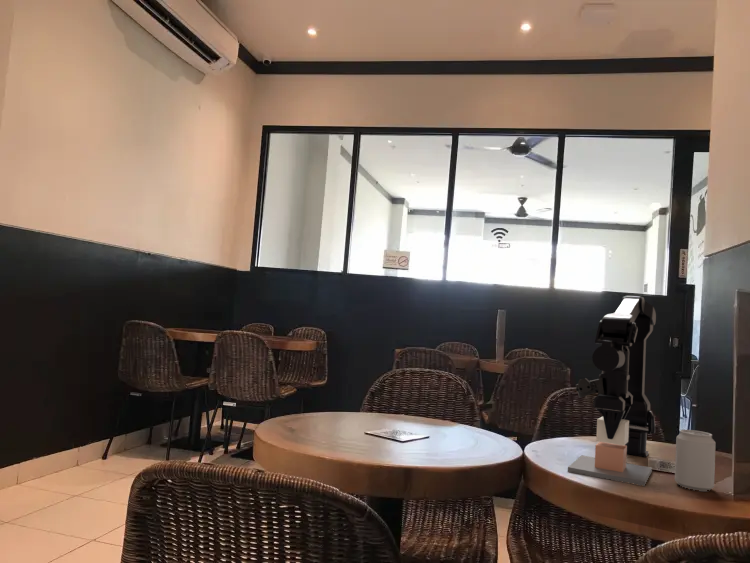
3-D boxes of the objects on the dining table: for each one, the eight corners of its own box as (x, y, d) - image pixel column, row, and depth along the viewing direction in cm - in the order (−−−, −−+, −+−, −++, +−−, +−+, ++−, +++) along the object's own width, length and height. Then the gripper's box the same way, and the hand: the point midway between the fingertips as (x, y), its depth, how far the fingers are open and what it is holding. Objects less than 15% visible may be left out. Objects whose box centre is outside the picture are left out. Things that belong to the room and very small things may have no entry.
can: (719, 494, 121) (721, 436, 122) (680, 489, 123) (682, 432, 124) (706, 484, 129) (708, 430, 129) (670, 480, 130) (672, 426, 131)
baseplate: (581, 459, 145) (581, 455, 145) (651, 471, 137) (651, 467, 137) (567, 471, 132) (567, 467, 132) (644, 486, 124) (644, 481, 124)
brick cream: (601, 437, 139) (602, 416, 139) (628, 441, 136) (629, 420, 136) (596, 441, 134) (597, 419, 134) (624, 445, 131) (625, 423, 131)
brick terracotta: (598, 462, 139) (599, 441, 139) (626, 467, 136) (627, 445, 136) (594, 467, 134) (595, 445, 134) (622, 472, 131) (623, 449, 131)
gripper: (587, 364, 148) (584, 426, 147) (571, 367, 132) (567, 436, 131) (634, 369, 142) (631, 433, 141) (624, 373, 126) (620, 445, 125)
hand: (612, 436), depth 135 cm, fingers closed on brick cream, 6 cm apart
